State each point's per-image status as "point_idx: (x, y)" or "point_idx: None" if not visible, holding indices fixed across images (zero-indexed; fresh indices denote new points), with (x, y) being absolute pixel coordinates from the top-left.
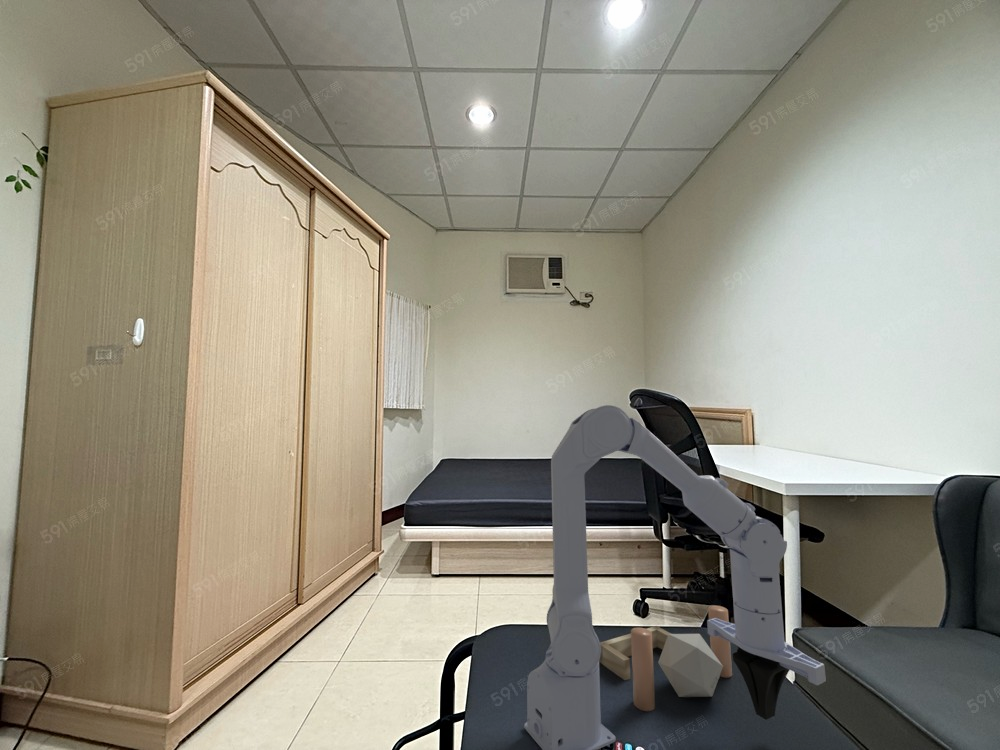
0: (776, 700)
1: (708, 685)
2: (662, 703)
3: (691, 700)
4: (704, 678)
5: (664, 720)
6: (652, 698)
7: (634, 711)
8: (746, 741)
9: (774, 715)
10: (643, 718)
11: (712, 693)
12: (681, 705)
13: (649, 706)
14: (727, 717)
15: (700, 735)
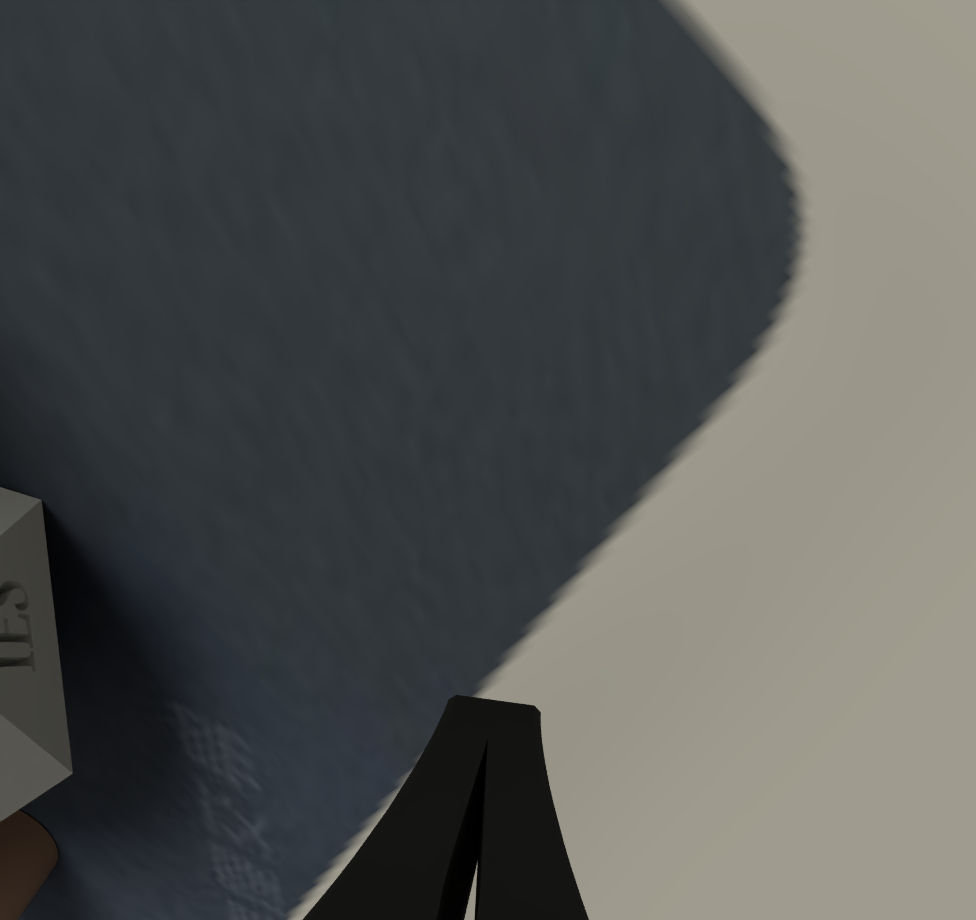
0: (550, 802)
1: (50, 746)
2: None
3: None
4: (2, 805)
5: (143, 863)
6: (14, 901)
7: (39, 898)
8: None
9: (539, 711)
10: (97, 908)
11: (35, 530)
12: None
13: (42, 877)
14: (255, 621)
15: (301, 839)
